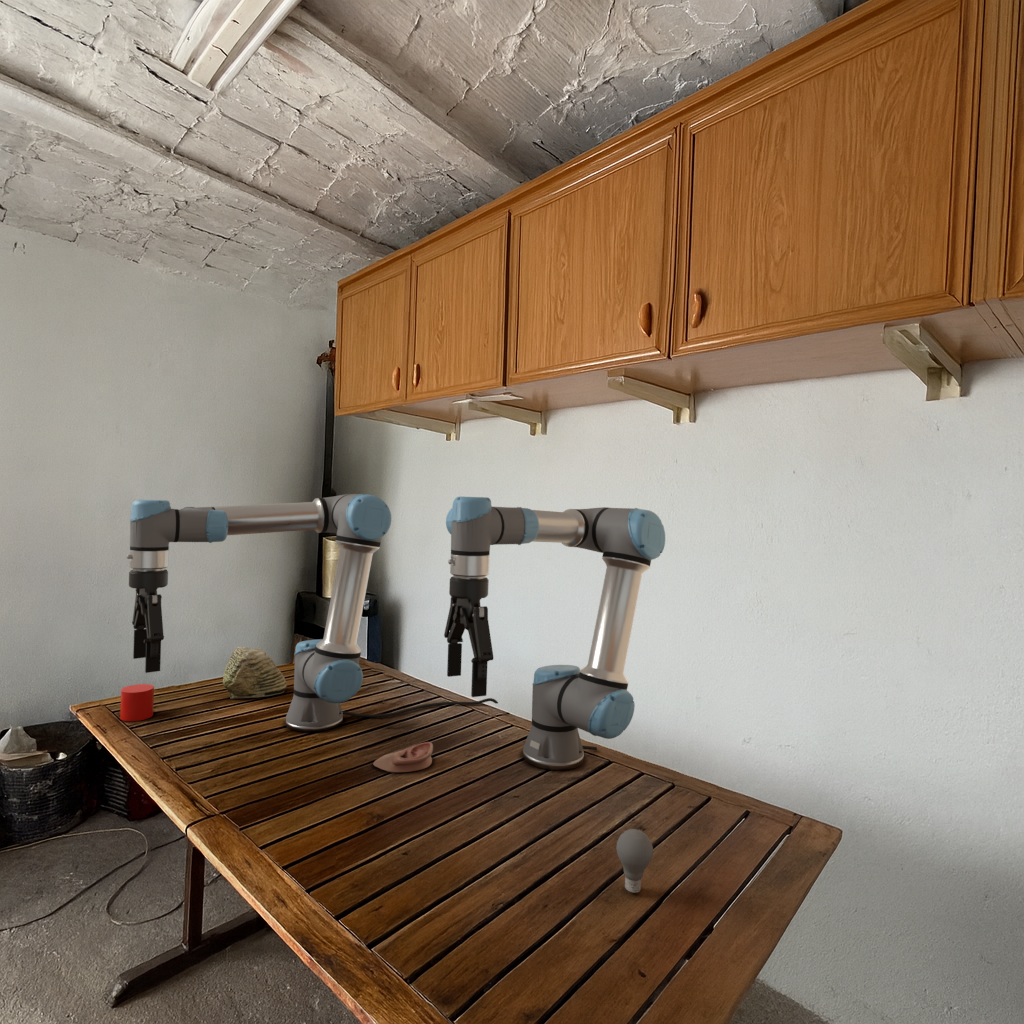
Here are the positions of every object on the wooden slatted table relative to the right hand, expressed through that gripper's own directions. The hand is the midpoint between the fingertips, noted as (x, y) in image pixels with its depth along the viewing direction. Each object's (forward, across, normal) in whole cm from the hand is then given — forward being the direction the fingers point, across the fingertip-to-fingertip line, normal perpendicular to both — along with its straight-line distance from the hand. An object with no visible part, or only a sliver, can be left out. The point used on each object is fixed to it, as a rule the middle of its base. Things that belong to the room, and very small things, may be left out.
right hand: (465, 685), depth 123 cm
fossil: (+28, -97, -33) cm, 106 cm away
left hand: (+3, -46, -58) cm, 75 cm away
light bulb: (+28, +29, +20) cm, 45 cm away
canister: (+28, -87, -64) cm, 111 cm away
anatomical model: (+28, -32, -3) cm, 43 cm away
